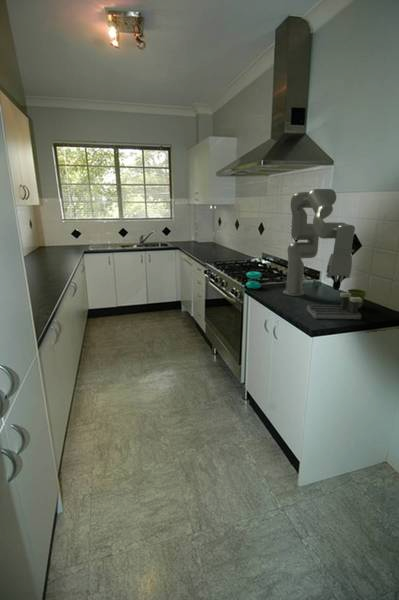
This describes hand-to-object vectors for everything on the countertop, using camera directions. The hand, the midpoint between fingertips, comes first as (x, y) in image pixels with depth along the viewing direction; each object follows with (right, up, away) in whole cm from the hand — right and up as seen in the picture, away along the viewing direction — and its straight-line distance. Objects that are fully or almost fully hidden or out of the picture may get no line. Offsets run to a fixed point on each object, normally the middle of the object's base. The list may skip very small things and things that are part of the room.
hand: (335, 289), depth 153 cm
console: (+1, -12, +7) cm, 14 cm away
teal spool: (-30, +3, +59) cm, 66 cm away
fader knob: (+10, -12, +2) cm, 15 cm away
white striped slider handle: (+8, -9, +10) cm, 16 cm away
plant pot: (+19, -9, +19) cm, 28 cm away
